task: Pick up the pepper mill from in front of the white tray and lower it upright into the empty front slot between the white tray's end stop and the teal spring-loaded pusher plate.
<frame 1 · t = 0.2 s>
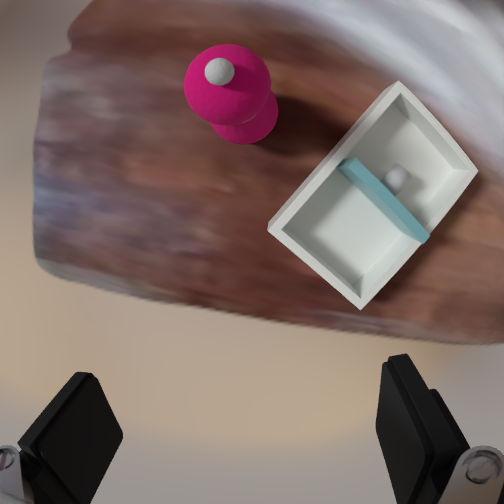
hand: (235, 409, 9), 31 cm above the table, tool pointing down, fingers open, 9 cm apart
pepper mill: (246, 116, 36), on the table
pusher: (392, 186, 32), point 5 cm above the table, slide at 0.0 cm
white tray: (371, 192, 37), on the table
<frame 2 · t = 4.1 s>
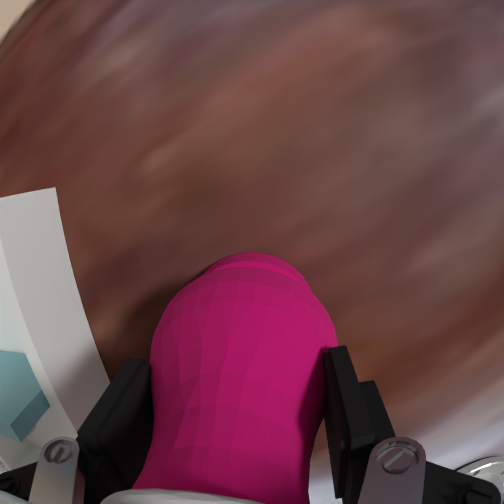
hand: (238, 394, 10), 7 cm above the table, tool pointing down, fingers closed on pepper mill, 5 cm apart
pepper mill: (253, 309, 17), on the table, touching gripper
pusher: (4, 406, 15), point 5 cm above the table, slide at 0.0 cm
white tray: (30, 356, 19), on the table
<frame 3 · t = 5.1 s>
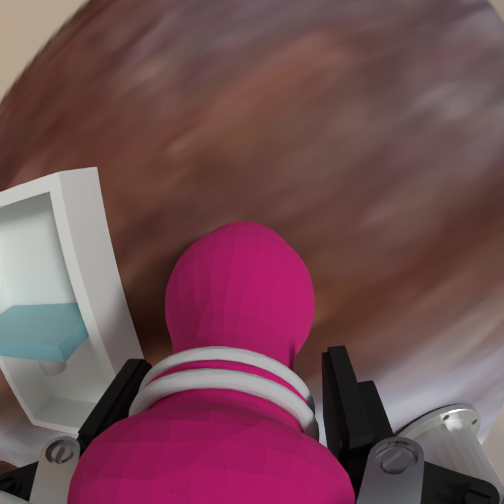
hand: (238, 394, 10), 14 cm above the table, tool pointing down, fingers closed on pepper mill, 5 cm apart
pepper mill: (244, 270, 20), point 3 cm above the table, touching gripper
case: (25, 480, 38), on the table
pusher: (40, 348, 21), point 5 cm above the table, slide at 0.0 cm
white tray: (62, 308, 25), on the table
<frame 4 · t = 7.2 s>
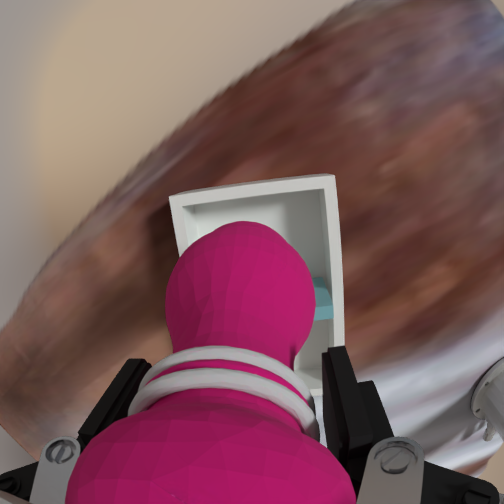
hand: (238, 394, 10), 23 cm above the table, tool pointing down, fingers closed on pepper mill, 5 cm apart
pepper mill: (244, 269, 20), point 13 cm above the table, touching gripper
pusher: (268, 319, 30), point 5 cm above the table, slide at 0.0 cm
white tray: (267, 287, 34), on the table
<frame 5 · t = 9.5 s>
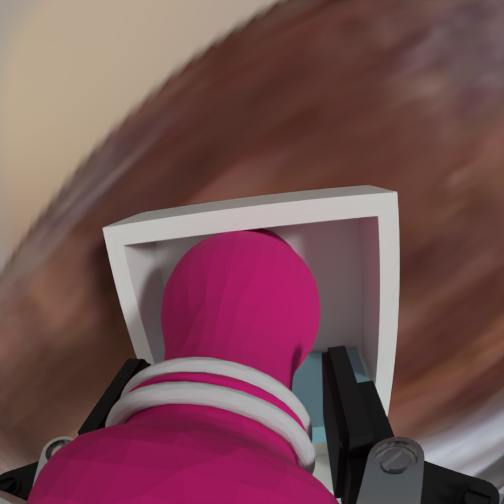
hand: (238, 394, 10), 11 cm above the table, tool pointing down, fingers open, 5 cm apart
pepper mill: (248, 277, 19), point 1 cm above the table, touching gripper, white tray
pusher: (272, 418, 18), point 5 cm above the table, slide at 0.0 cm
white tray: (272, 359, 22), on the table
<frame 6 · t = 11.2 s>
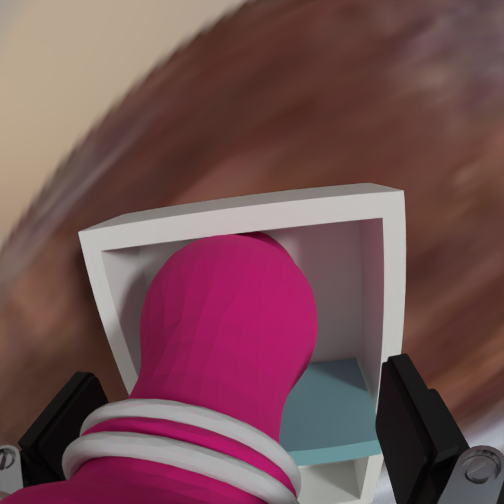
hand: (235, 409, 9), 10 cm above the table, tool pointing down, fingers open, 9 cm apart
pepper mill: (240, 283, 18), point 1 cm above the table, touching white tray
pusher: (265, 434, 16), point 5 cm above the table, slide at 0.0 cm
white tray: (265, 369, 20), on the table
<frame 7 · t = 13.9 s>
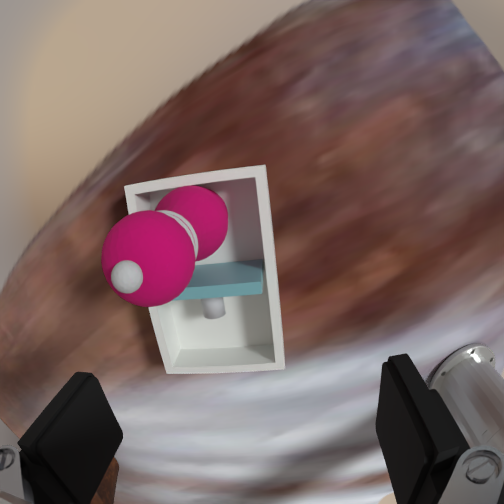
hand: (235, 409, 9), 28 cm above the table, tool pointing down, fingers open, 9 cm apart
pepper mill: (200, 215, 35), point 1 cm above the table, touching white tray
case: (92, 454, 50), on the table
pusher: (210, 295, 33), point 5 cm above the table, slide at 0.0 cm
white tray: (215, 268, 37), on the table
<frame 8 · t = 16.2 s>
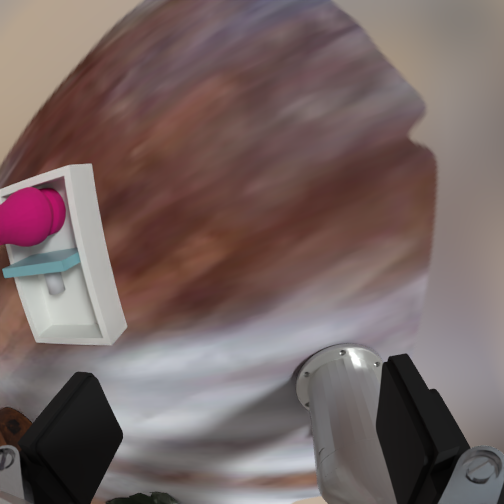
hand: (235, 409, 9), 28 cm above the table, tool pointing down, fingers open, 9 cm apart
pepper mill: (50, 210, 37), point 1 cm above the table, touching white tray
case: (23, 426, 52), on the table
pusher: (49, 275, 35), point 5 cm above the table, slide at 0.0 cm
white tray: (66, 254, 39), on the table
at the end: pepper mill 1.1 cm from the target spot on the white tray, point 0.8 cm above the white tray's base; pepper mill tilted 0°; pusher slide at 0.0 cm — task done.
